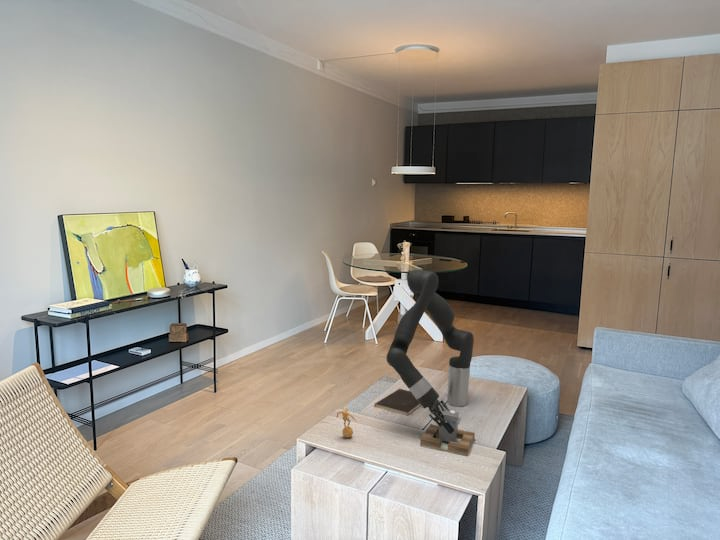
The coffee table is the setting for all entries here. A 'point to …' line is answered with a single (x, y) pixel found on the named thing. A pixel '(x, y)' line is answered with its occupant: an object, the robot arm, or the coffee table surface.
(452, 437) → the block
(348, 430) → the figurine
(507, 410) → the coffee table surface
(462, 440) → the walnut plate
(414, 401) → the hardcover book
